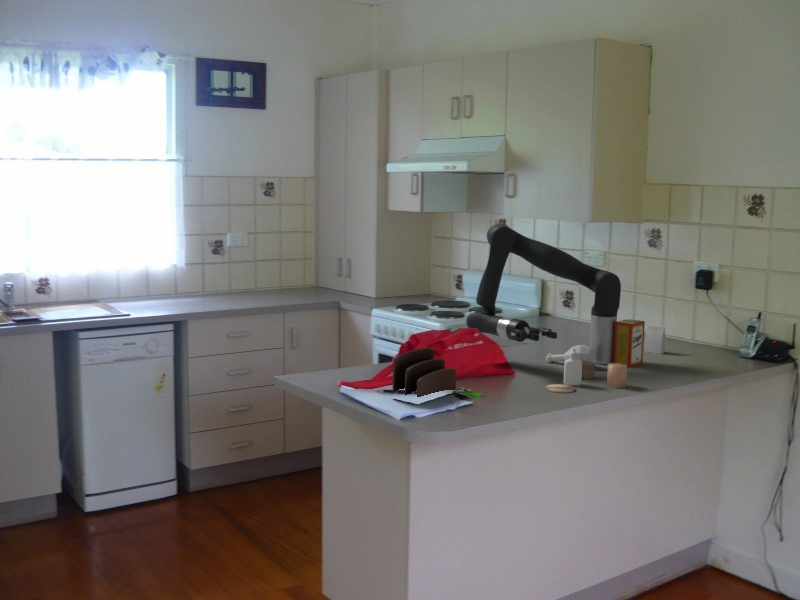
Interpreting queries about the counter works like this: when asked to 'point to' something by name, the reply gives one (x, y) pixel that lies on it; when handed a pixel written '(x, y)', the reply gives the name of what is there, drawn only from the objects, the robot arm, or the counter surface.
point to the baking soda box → (629, 342)
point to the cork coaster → (560, 388)
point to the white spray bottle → (582, 351)
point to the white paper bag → (654, 340)
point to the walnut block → (588, 369)
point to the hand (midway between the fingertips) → (547, 336)
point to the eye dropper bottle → (573, 370)
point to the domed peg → (616, 375)
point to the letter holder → (422, 373)
